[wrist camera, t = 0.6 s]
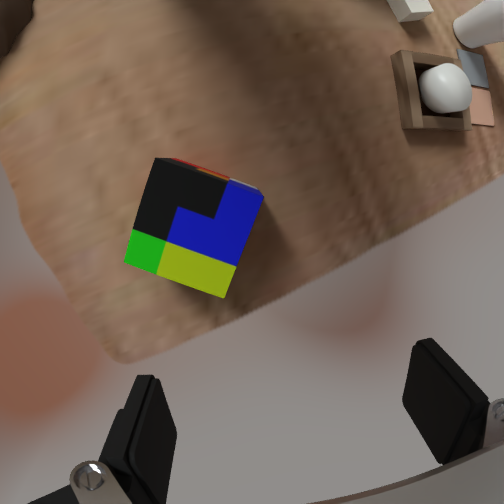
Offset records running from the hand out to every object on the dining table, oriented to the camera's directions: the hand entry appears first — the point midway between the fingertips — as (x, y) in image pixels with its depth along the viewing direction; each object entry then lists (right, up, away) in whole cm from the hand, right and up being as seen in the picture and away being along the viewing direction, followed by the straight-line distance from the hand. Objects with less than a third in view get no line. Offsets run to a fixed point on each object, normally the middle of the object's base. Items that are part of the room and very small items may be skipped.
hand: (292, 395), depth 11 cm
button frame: (+22, +26, +24) cm, 41 cm away
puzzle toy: (-7, +10, +27) cm, 30 cm away
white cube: (+19, +38, +20) cm, 47 cm away
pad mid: (+31, +32, +22) cm, 50 cm away
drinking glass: (+30, +38, +21) cm, 53 cm away
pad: (+32, +26, +24) cm, 48 cm away
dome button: (+22, +25, +22) cm, 40 cm away
